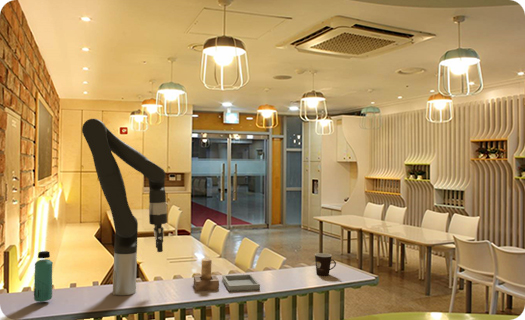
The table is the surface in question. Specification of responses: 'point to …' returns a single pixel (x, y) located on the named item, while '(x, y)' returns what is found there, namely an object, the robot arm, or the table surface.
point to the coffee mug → (323, 264)
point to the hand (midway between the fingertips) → (159, 249)
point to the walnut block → (206, 283)
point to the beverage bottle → (43, 278)
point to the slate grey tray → (240, 282)
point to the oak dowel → (206, 269)
